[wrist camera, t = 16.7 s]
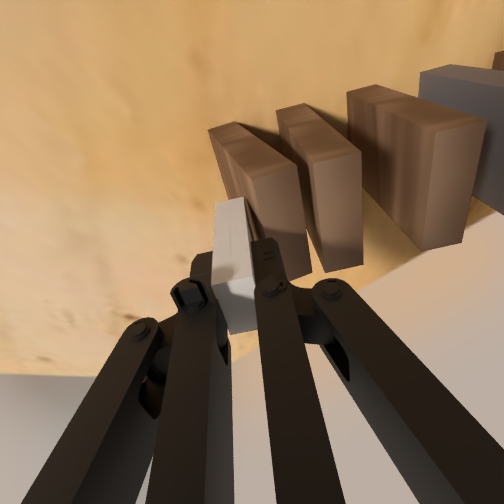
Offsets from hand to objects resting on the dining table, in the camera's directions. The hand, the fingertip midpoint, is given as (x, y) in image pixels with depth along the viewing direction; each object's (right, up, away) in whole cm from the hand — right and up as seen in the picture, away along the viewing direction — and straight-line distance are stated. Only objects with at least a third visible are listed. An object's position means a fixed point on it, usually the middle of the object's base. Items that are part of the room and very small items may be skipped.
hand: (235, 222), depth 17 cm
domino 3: (+9, +7, +6) cm, 13 cm away
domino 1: (-1, +5, +7) cm, 8 cm away
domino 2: (+4, +6, +7) cm, 10 cm away
